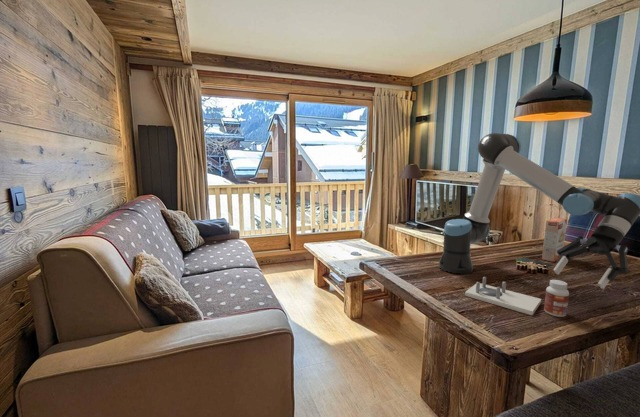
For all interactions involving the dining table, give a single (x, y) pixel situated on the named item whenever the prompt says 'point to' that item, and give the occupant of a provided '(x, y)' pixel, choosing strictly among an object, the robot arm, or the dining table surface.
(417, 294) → the dining table surface
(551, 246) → the cracker box
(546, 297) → the pill bottle
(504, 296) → the pin tray
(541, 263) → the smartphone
